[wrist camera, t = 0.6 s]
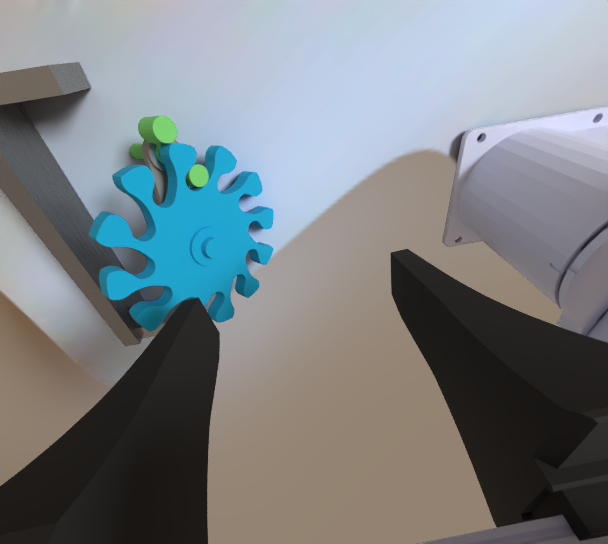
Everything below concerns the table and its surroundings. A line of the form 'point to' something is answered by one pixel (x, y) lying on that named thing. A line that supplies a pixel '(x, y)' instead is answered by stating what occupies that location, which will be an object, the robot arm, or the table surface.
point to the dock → (57, 193)
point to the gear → (183, 227)
